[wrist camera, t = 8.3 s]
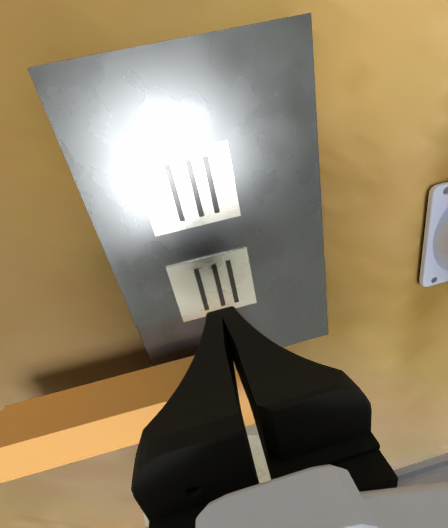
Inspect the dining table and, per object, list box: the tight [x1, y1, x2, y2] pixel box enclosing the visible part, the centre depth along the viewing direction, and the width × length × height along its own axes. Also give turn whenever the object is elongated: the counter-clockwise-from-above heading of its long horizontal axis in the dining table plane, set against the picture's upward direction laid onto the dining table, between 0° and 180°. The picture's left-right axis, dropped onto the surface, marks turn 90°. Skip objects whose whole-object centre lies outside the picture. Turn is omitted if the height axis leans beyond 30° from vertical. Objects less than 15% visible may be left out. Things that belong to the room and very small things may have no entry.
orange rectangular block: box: [0, 355, 255, 483], centre depth 16 cm, size 16×4×4 cm, turn 101°
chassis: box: [28, 13, 328, 366], centre depth 16 cm, size 13×19×2 cm
